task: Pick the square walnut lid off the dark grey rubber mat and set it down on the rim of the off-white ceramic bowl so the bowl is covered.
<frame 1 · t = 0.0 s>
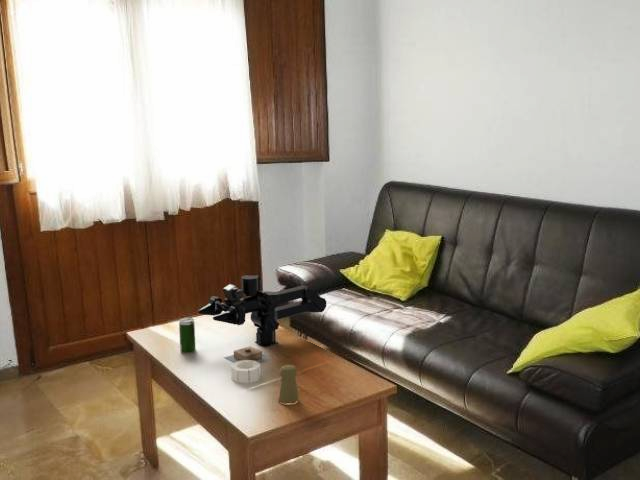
hand: (205, 315, 225), 17 cm above the table, tool horizontal, fingers open, 9 cm apart
mat: (248, 359, 230), on the table
beer can: (188, 352, 237), on the table
lid: (248, 358, 230), resting on mat
green shaker: (288, 401, 198), on the table
bowl: (246, 378, 214), on the table
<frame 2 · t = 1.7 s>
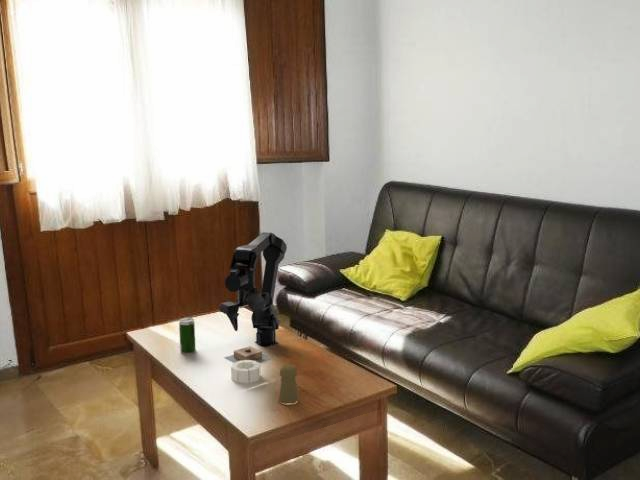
hand: (247, 327, 228), 11 cm above the table, tool pointing down, fingers open, 9 cm apart
nothing on the table moved.
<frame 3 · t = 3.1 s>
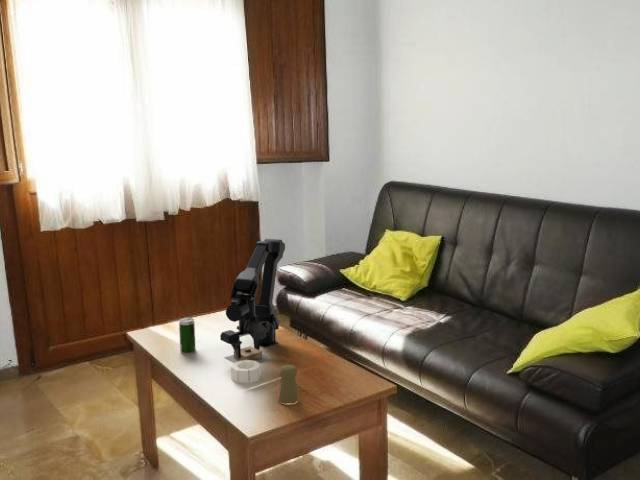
hand: (247, 355, 230), 1 cm above the table, tool pointing down, fingers closed on lid, 7 cm apart
lid: (248, 358, 230), resting on mat, touching gripper
everything else where it was.
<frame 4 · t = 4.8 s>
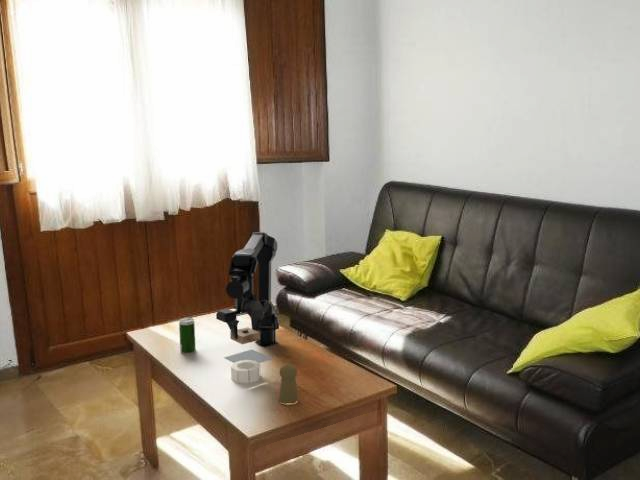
hand: (245, 336, 218), 12 cm above the table, tool pointing down, fingers closed on lid, 7 cm apart
lid: (245, 339, 218), point 11 cm above the table, touching gripper
everything else where it was.
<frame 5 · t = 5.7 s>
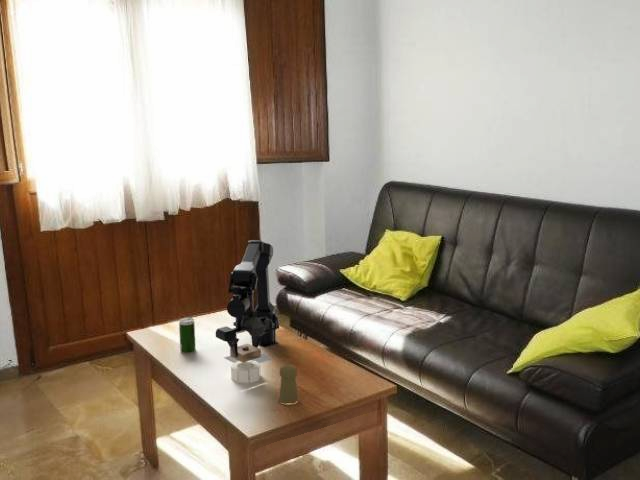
hand: (245, 354, 212), 8 cm above the table, tool pointing down, fingers closed on lid, 7 cm apart
lid: (245, 356, 212), point 7 cm above the table, touching gripper
everything else where it was.
when the fingers open (7 cm above the table, at t = 6.5 s): lid drops 1 cm, resting on bowl.
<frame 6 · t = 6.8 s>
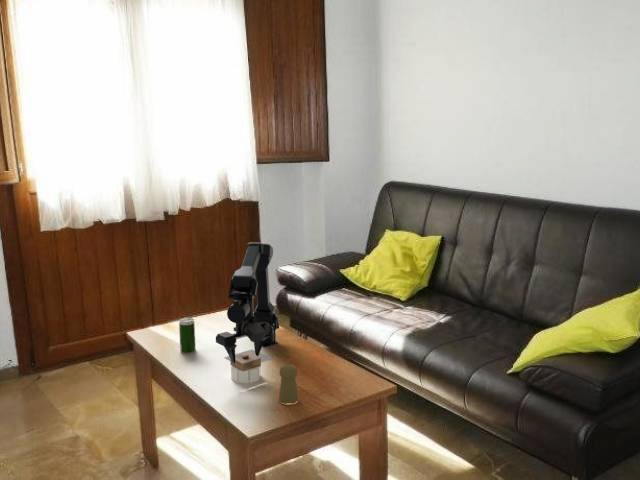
hand: (245, 359, 212), 7 cm above the table, tool pointing down, fingers open, 9 cm apart
lid: (245, 365, 213), point 4 cm above the table, touching bowl
everything else where it was.
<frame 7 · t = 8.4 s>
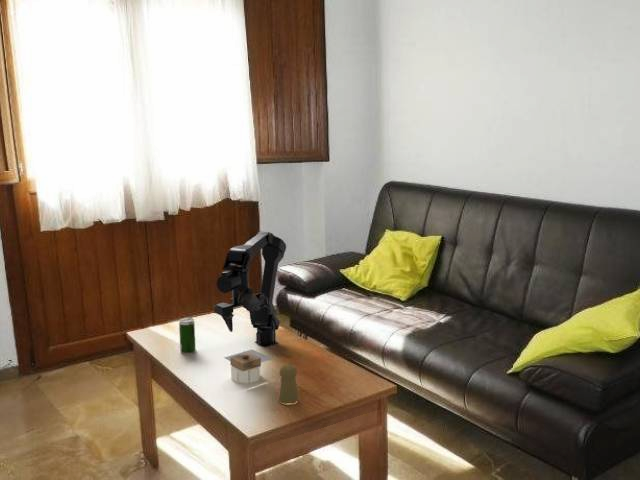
hand: (242, 328, 227), 12 cm above the table, tool pointing down, fingers open, 9 cm apart
nothing on the table moved.
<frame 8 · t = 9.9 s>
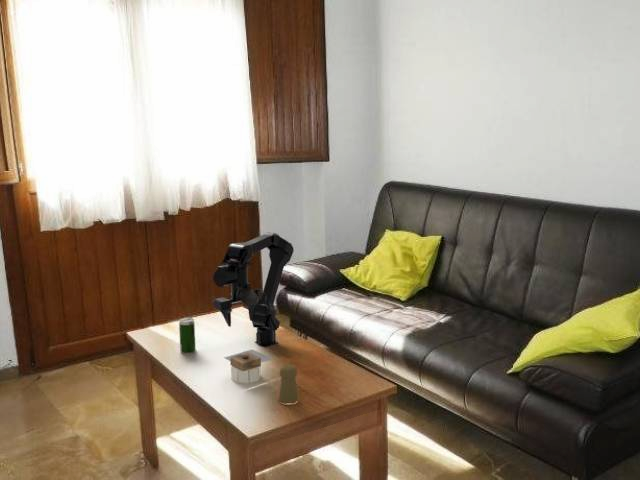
hand: (240, 323, 230), 12 cm above the table, tool pointing down, fingers open, 9 cm apart
nothing on the table moved.
at the end: lid 0.0 cm off-centre on the bowl, point 4.5 cm above the bowl's base; lid tilted 0°; the gripper is holding nothing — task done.
